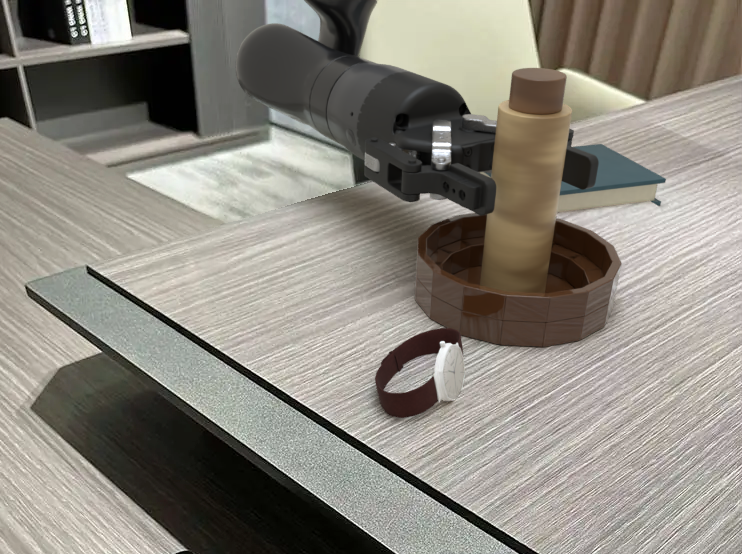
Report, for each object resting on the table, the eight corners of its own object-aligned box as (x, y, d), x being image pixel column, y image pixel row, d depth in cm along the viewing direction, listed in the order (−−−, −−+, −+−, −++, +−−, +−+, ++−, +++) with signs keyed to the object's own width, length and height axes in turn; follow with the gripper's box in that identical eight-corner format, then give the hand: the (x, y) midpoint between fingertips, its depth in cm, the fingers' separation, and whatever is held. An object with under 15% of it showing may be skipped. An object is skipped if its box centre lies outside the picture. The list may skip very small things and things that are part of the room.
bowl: (546, 251, 64) (553, 203, 62) (649, 335, 53) (662, 280, 51) (387, 273, 60) (389, 223, 58) (463, 368, 49) (469, 310, 47)
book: (597, 168, 80) (601, 143, 79) (660, 205, 72) (666, 178, 71) (466, 182, 76) (469, 157, 75) (518, 223, 68) (521, 195, 67)
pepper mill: (524, 277, 59) (553, 63, 51) (555, 306, 55) (592, 80, 47) (468, 285, 57) (489, 67, 50) (496, 315, 54) (524, 85, 46)
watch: (433, 439, 43) (438, 382, 41) (354, 414, 45) (355, 359, 43) (480, 368, 49) (486, 315, 47) (408, 348, 51) (411, 297, 49)
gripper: (314, 82, 57) (458, 146, 45) (472, 60, 64) (634, 110, 52) (315, 184, 61) (449, 267, 49) (464, 153, 68) (614, 219, 56)
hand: (544, 186), depth 51 cm, fingers open, 8 cm apart
